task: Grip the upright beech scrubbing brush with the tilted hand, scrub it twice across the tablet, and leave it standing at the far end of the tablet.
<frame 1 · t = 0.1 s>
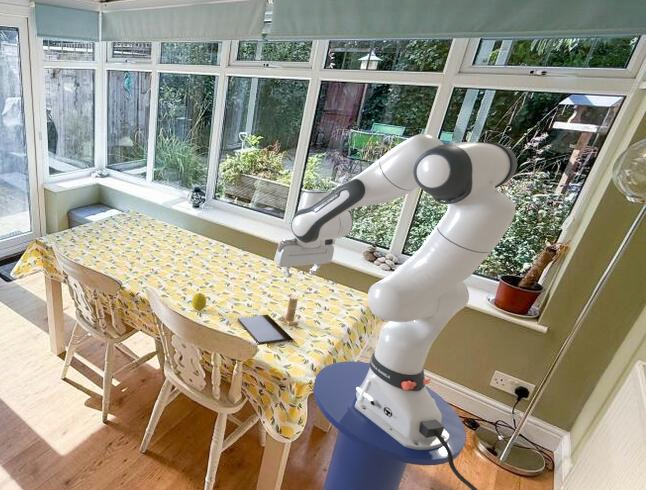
hand: (300, 275, 140), 25 cm above the table, tool pointing down, fingers open, 8 cm apart
brush: (288, 324, 154), point 1 cm above the table, touching tablet
lemon: (198, 310, 164), on the table
tablet: (271, 329, 153), on the table
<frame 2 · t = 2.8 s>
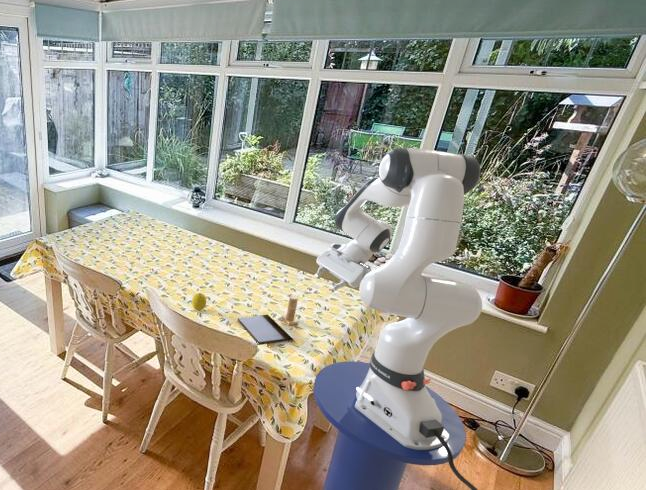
hand: (324, 283, 151), 17 cm above the table, tool tilted 45°, fingers open, 8 cm apart
nothing on the table moved.
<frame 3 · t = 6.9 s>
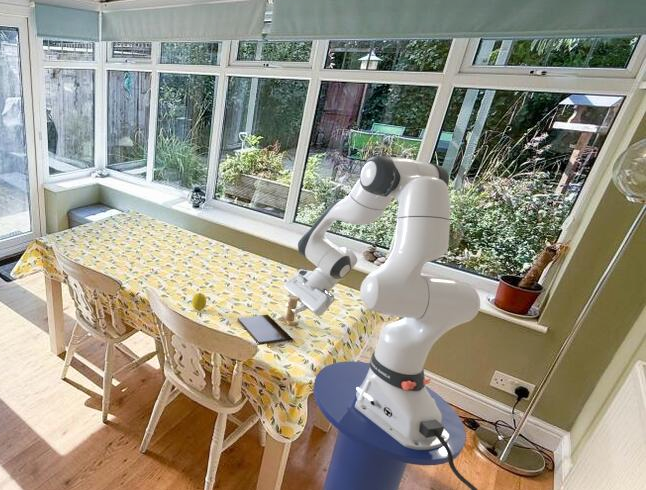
hand: (290, 309, 152), 8 cm above the table, tool tilted 45°, fingers closed on brush, 3 cm apart
brush: (288, 324, 154), point 1 cm above the table, touching tablet, gripper
everything else where it was.
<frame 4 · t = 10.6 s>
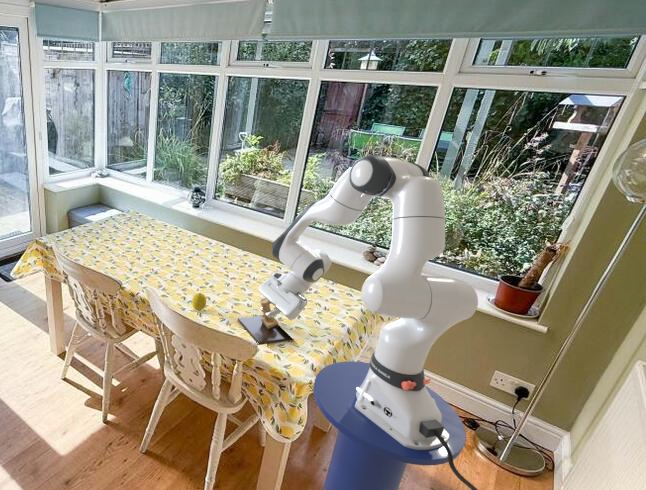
hand: (263, 313, 149), 7 cm above the table, tool tilted 45°, fingers closed on brush, 3 cm apart
brush: (270, 325, 152), point 2 cm above the table, tilted 21°, touching gripper
everything else where it was.
when the fingers open (7 cm above the table, at t = 14.5 s): brush stays where it is, resting on tablet.
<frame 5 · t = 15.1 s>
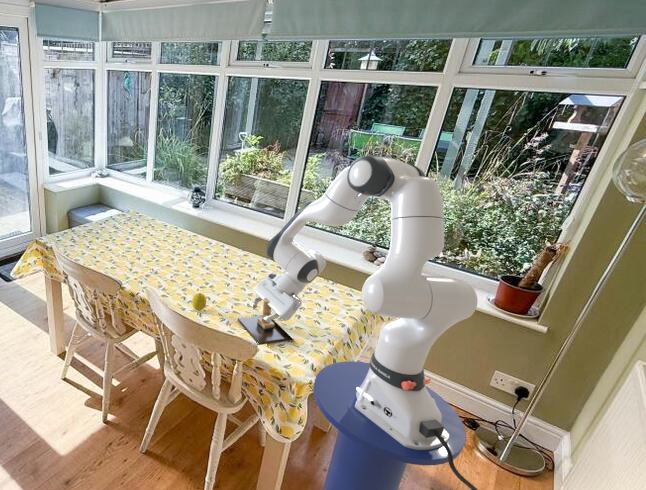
hand: (258, 313, 149), 7 cm above the table, tool tilted 45°, fingers open, 8 cm apart
brush: (265, 327, 152), point 1 cm above the table, touching tablet
everything else where it was.
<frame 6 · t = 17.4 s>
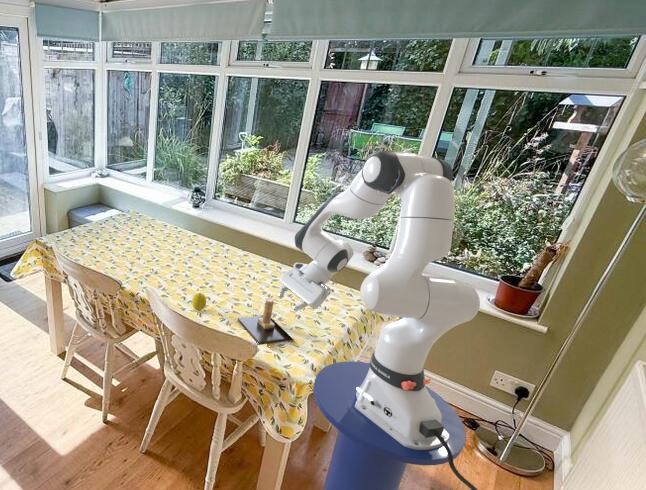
hand: (285, 303, 150), 11 cm above the table, tool tilted 45°, fingers open, 8 cm apart
nothing on the table moved.
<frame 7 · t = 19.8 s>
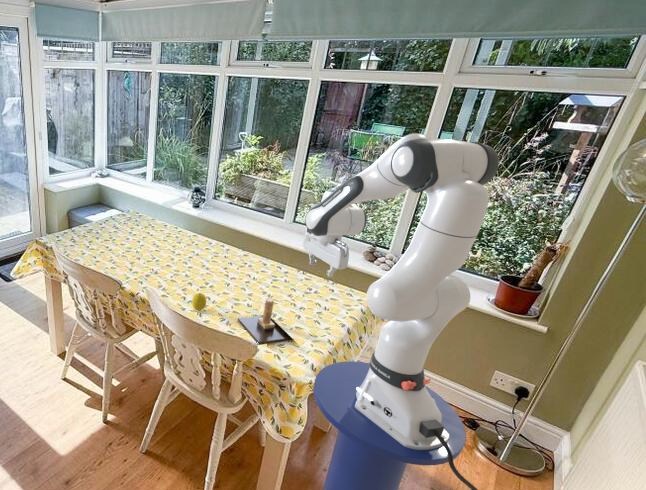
hand: (320, 270, 149), 23 cm above the table, tool pointing down, fingers open, 8 cm apart
nothing on the table moved.
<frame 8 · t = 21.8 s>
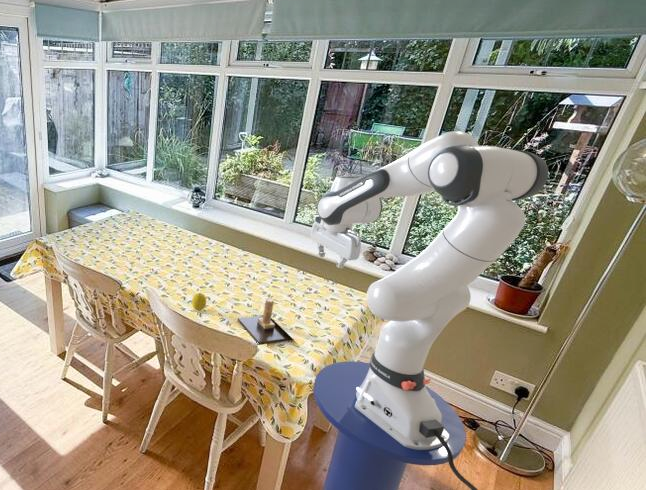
hand: (330, 261, 141), 29 cm above the table, tool pointing down, fingers open, 8 cm apart
nothing on the table moved.
at the end: brush inside the target area (2.6 cm from its centre), point 1.2 cm above the table; brush tilted 0°; the gripper is holding nothing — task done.
